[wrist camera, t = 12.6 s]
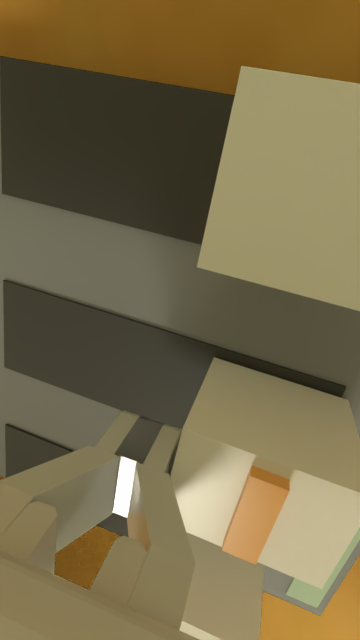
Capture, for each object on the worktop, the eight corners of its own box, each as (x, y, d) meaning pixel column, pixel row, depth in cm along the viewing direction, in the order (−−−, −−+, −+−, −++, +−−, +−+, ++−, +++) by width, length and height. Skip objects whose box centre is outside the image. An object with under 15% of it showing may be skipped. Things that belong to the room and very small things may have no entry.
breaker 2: (384, 280, 8) (441, 332, 5) (227, 240, 9) (196, 266, 6) (445, 146, 7) (563, 113, 4) (259, 113, 8) (241, 65, 5)
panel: (314, 580, 15) (317, 623, 13) (-16, 441, 18) (-42, 463, 17) (559, 165, 8) (617, 159, 7) (-33, 61, 11) (-80, 42, 10)
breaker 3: (311, 475, 11) (323, 603, 8) (193, 432, 12) (155, 530, 8) (348, 399, 10) (380, 512, 6) (214, 357, 11) (178, 437, 7)
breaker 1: (244, 587, 14) (230, 706, 11) (151, 546, 14) (113, 645, 11) (265, 539, 12) (258, 657, 9) (163, 497, 13) (124, 593, 10)
